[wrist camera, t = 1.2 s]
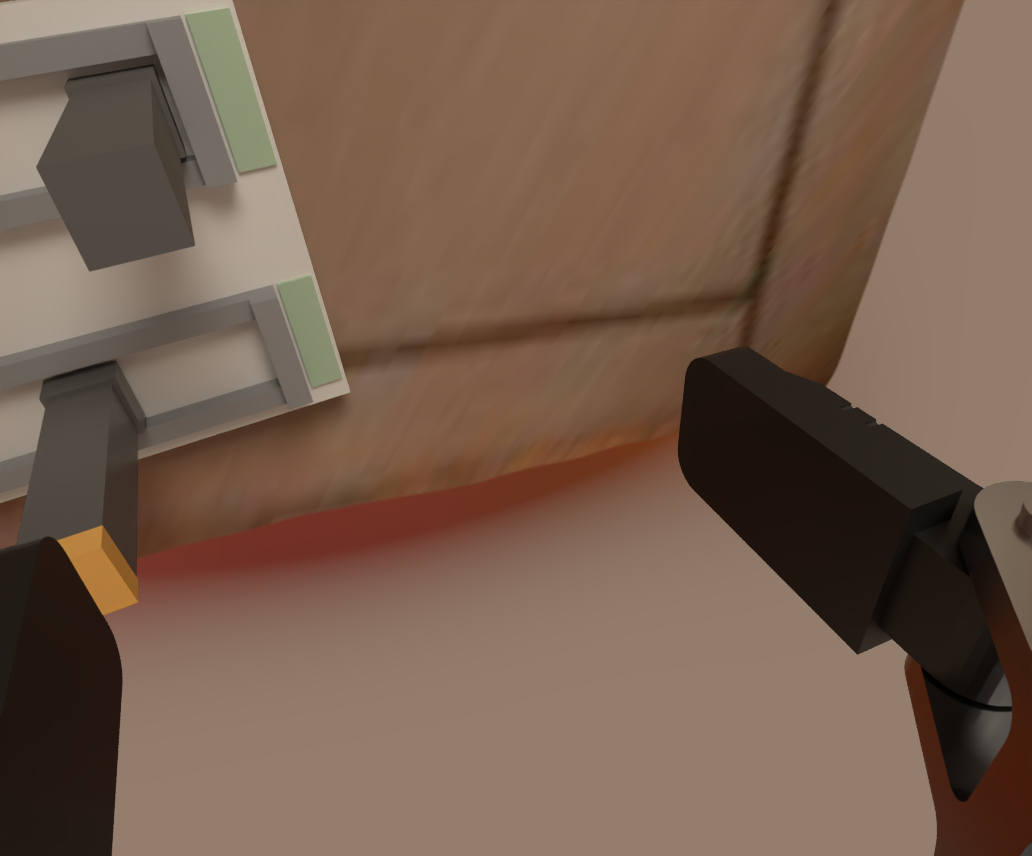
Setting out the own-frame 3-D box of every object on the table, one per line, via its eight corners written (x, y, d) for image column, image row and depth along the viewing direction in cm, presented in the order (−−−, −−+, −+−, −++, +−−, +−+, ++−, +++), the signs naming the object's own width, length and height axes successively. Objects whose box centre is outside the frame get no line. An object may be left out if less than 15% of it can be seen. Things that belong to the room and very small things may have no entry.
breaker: (76, 434, 32) (48, 638, 23) (43, 380, 30) (-3, 578, 21) (144, 413, 33) (144, 603, 23) (116, 360, 31) (104, 542, 22)
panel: (-110, 514, 33) (-242, 810, 22) (-508, 75, 22) (-1227, 217, 10) (342, 375, 39) (423, 550, 28) (219, -29, 27) (272, -13, 16)
